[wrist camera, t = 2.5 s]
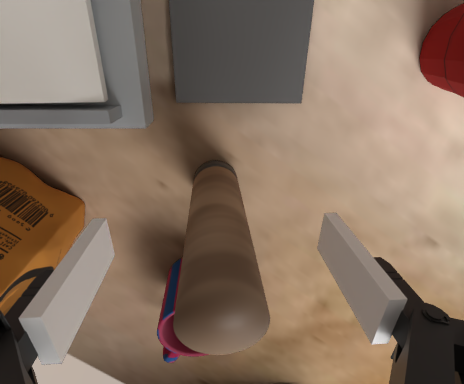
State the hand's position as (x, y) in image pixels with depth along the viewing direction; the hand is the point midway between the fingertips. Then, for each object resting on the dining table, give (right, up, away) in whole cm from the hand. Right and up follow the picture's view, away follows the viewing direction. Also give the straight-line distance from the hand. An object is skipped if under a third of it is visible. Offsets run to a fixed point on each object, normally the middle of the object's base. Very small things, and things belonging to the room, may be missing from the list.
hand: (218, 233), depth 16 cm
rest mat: (+1, +14, +3) cm, 15 cm away
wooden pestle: (-1, +4, +8) cm, 9 cm away
